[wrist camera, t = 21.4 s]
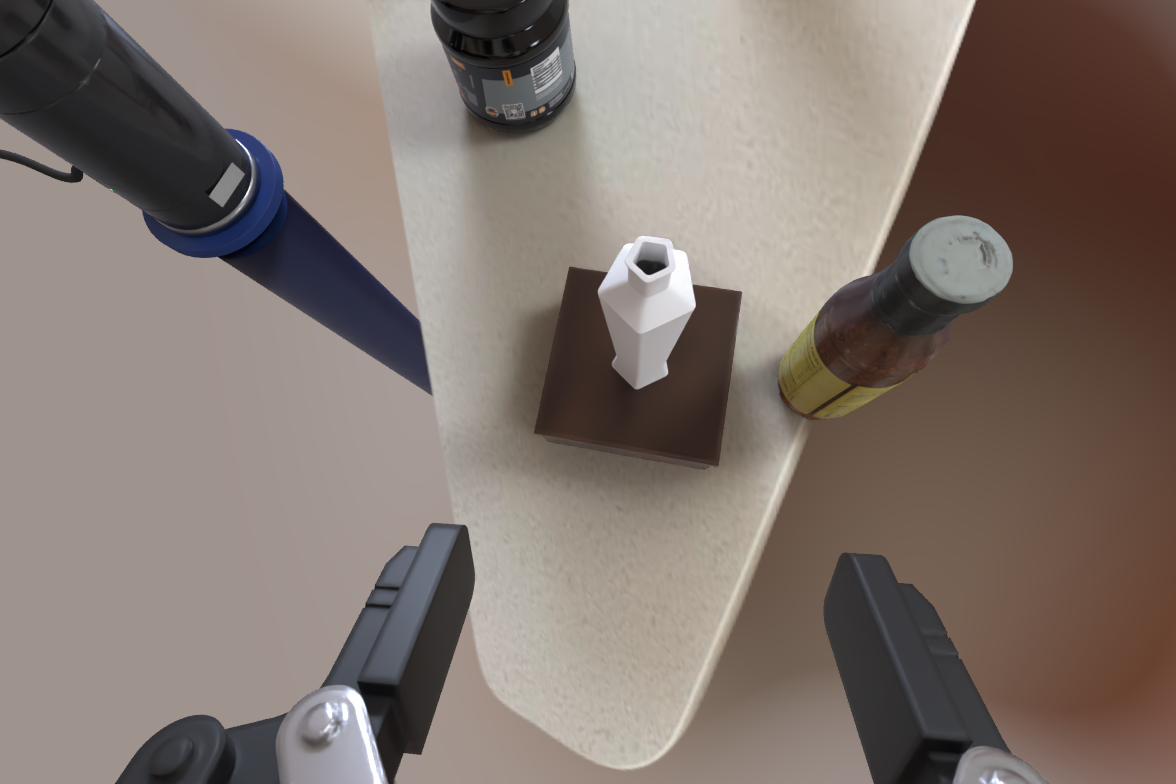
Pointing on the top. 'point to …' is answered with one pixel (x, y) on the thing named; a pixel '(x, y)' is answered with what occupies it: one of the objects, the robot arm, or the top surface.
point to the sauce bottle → (893, 318)
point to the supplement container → (509, 58)
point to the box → (654, 412)
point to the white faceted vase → (646, 307)
